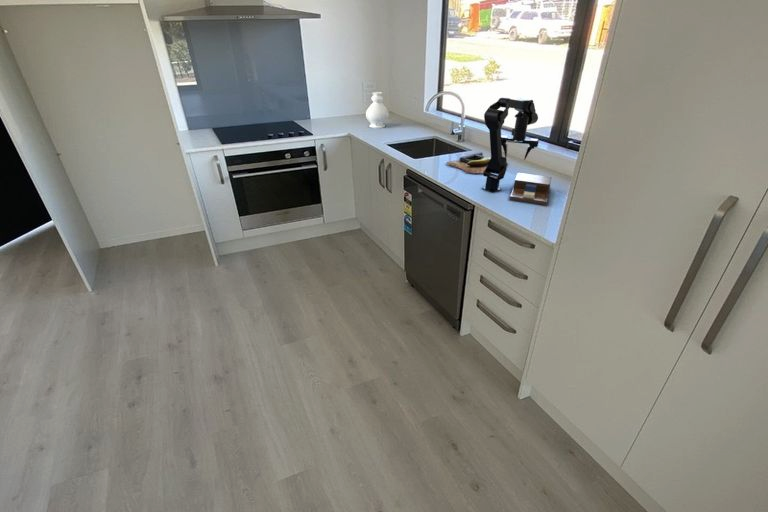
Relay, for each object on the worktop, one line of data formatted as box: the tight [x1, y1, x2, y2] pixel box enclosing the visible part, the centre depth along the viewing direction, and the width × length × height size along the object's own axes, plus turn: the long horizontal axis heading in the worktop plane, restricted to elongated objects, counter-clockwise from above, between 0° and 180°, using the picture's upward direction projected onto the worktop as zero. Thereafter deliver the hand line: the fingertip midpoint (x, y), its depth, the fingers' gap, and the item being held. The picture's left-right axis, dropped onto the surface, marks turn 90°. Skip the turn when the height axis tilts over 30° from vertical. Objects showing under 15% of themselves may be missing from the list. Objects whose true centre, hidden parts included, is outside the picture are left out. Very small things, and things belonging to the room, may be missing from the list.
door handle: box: [458, 151, 485, 163], centre depth 233 cm, size 3×20×16 cm
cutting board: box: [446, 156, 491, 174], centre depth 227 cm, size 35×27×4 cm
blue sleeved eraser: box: [523, 184, 537, 198], centre depth 182 cm, size 9×5×4 cm, turn 157°
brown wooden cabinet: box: [509, 172, 552, 207], centre depth 188 cm, size 24×16×6 cm, turn 157°
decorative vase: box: [365, 91, 390, 129], centre depth 309 cm, size 18×18×25 cm
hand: (515, 158), depth 199 cm, fingers open, 9 cm apart
